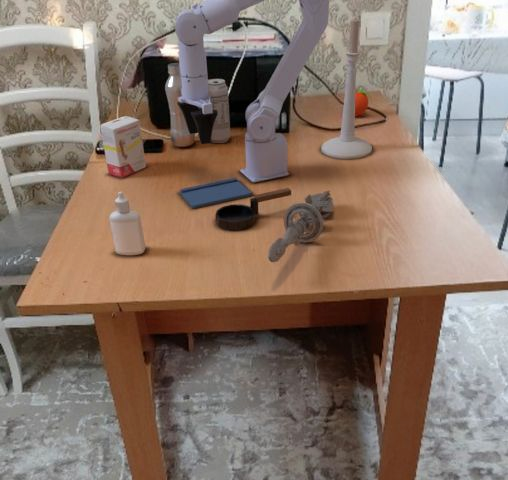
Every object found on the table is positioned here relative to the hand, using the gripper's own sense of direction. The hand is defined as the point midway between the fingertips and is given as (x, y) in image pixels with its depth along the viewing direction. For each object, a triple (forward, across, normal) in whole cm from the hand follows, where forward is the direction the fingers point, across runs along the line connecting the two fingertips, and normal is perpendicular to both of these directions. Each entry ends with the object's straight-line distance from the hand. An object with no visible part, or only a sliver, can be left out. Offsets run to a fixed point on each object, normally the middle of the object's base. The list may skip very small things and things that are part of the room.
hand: (199, 138), depth 135 cm
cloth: (+9, +10, -1) cm, 14 cm away
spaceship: (+10, +39, +6) cm, 41 cm away
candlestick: (+10, +1, +39) cm, 40 cm away
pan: (+9, +25, +2) cm, 27 cm away
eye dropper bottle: (+10, +27, -25) cm, 38 cm away
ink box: (+10, -13, -15) cm, 22 cm away
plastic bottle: (+10, -23, +3) cm, 25 cm away
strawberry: (+10, -21, +56) cm, 61 cm away
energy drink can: (+10, -22, +13) cm, 27 cm away
